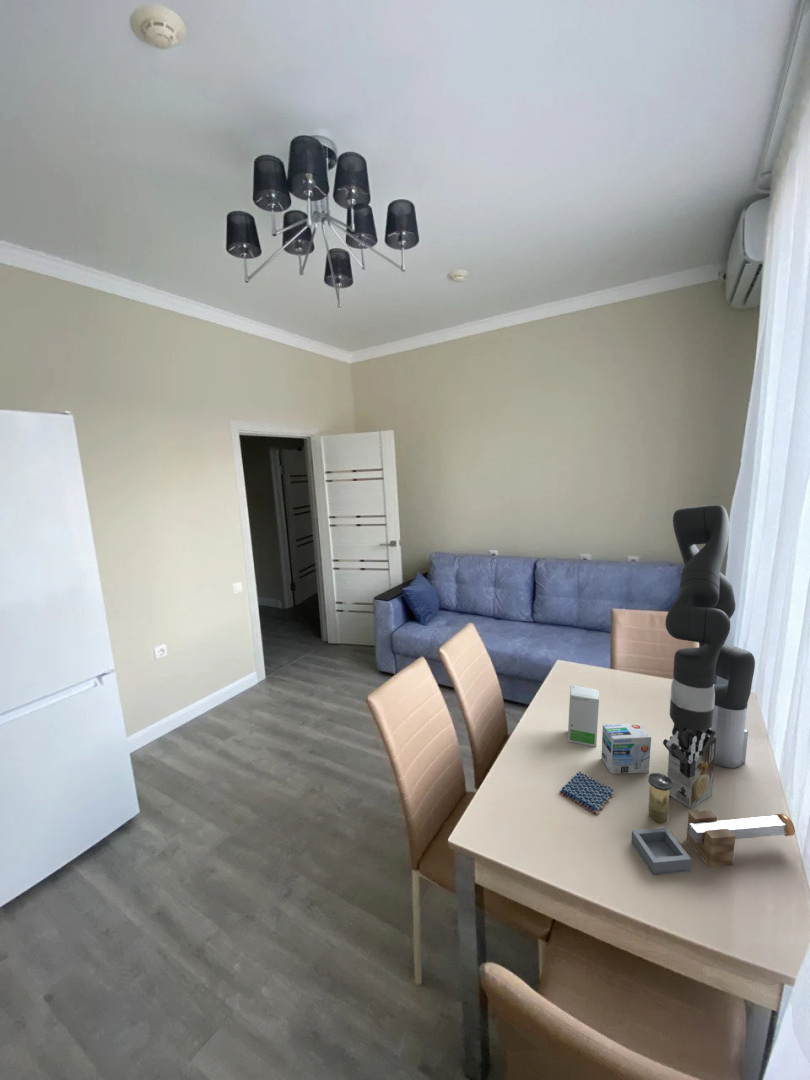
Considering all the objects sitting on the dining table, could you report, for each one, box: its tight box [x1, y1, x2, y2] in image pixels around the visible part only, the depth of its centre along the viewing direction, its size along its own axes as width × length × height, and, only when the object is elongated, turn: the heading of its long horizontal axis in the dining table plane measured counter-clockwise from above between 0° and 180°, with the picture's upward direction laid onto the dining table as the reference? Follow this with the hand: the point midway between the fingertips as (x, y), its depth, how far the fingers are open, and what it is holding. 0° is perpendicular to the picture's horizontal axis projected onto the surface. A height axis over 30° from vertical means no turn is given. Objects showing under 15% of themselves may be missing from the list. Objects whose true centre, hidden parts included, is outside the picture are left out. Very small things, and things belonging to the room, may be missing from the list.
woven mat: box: [559, 770, 615, 815], centre depth 113 cm, size 10×11×2 cm
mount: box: [686, 809, 736, 868], centre depth 95 cm, size 5×7×7 cm
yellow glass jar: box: [647, 772, 672, 825], centre depth 104 cm, size 5×5×10 cm
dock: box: [630, 826, 692, 876], centre depth 95 cm, size 8×8×3 cm
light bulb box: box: [600, 722, 652, 775], centre depth 122 cm, size 11×7×11 cm, turn 90°
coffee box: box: [667, 735, 716, 809], centre depth 110 cm, size 9×6×16 cm
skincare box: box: [567, 684, 600, 748], centre depth 134 cm, size 8×7×16 cm
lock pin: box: [689, 813, 796, 843], centre depth 95 cm, size 21×4×4 cm, turn 93°
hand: (686, 774), depth 93 cm, fingers closed
